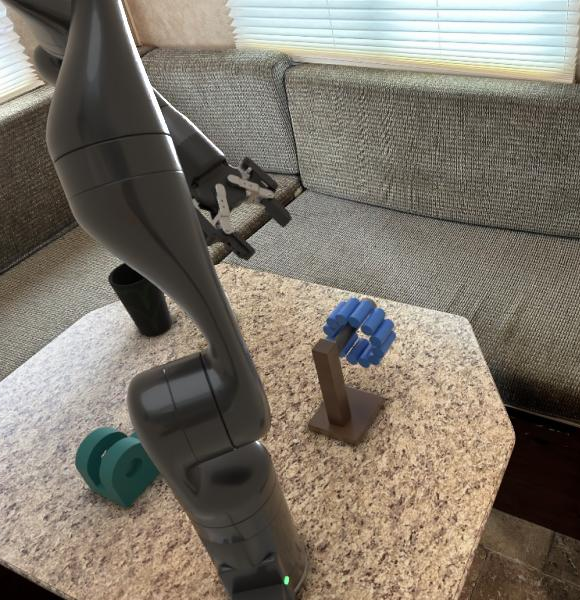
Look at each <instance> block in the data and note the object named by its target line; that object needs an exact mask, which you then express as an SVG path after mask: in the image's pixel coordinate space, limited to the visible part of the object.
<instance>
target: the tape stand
mask: <svg viewBox="0 0 580 600" xmlns="http://www.w3.org/2000/svg"><path fill="white" fill-rule="evenodd" d="M365 299H366V300H369V301H371V302H372V304H373V306H374V308H376V307H378V305H377V303H376V302H375V301H374V300H373V299H372V298H371V297H363V298H362V299H360V300H359V301H360V303H361V302H362V300H365ZM374 308H373V310H374ZM373 310H372V311H373ZM372 311H371V312H372ZM371 312H370V314H371ZM370 314H369V315H370ZM369 315H368V316H369ZM368 316H367V318H368ZM367 318H366V319H367ZM366 319H365V320H366ZM365 320H364V322H365ZM364 322H363V323H364ZM363 323H362V324H363ZM362 324H361V326H362ZM361 326H360V327H359V328H354V327H352V326H351V325H350V324H349V322H348V323H347V324H346V325H345V326H344V327H343V329H342V330H341V331H340V332H339V334H338V335H337V336H336V338H335V339H334V340H333V341H330V340H326V338H323V337H320V338H319V339H318V340H317V342H316V343H315V344H314V345H313V347H312V348H311V349H310V350H311V355H312V359H313V363H314V367H315V371H316V376H317V379H318V383H319V387H320V391H321V396H322V400H323V401H322V403H321V404H320V405H319V407H318V409H317V410H316V411H315V412H314V414H313V416H312V417H311V418H310V419H309V421H308V422H307V427H308V430H310V431H313V432H316V433H319V434H321V435H325V436H328V437H330V438H333V439H336V440H339V441H342V442H345V443H348V444H351V445H354V446H357V447H358V446H359V445H360V443H361V441H362V440H363V438H364V437H365V435H366V434H367V431H368V430H369V429H370V427H371V426H372V424H373V422H374V420H375V419H376V417H377V416H378V414H379V413H380V411H381V410H382V409H383V406H384V404H385V403H386V402H385V396H383V395H379V394H376V393H372V392H369V391H365V390H362V389H359V388H356V387H352V386H349V385H347V384H346V383H345V377H344V372H343V367H342V362H341V359H340V358H341V357H339V355H340V353H341V352H342V351H343V349H344V348H345V347H346V345H347V344H348V343H349V341H350V340H351V339H352V337H353V336H354V335H355V333H357V332H358V330H359V329H361Z"/></svg>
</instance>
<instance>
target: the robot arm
mask: <svg viewBox="0 0 580 600" xmlns="http://www.w3.org/2000/svg"><path fill="white" fill-rule="evenodd" d="M0 1H1V2H2V3H3V4H5V5H6V6H7V7H9V8H10V9H11V10H13V11H14V12H15V13H16V14H17V15H18V16H19V17H20V18H21V19H22V21H23V22H24V24H25V25H26V26H27V29H28V30H29V32H30V33H31V34H32V36H33V37H34V39H35V40H36V42H37V45H36V46H35V48H34V49H33V51H32V61H33V64H34V67H35V69H36V71H37V72H38V74H39V76H40V77H41V78H42V79H43V80H44V81H45V82H46V83H47V84H49V85H50V86H52V87H53V88H54V90H53V93H52V96H51V101H50V106H49V110H48V115H47V119H46V130H45V141H46V146H47V151H48V154H49V157H50V159H51V162H52V164H53V167H54V169H55V172H56V174H57V177H58V180H59V182H60V184H61V188H62V190H63V192H64V195H65V197H66V200H67V202H68V206H69V208H70V211H71V213H72V215H73V217H74V219H75V221H76V222H77V224H78V225H79V226H80V227H81V228H82V229H83V231H84V232H85V233H86V234H87V235H88V236H89V237H90V238H92V240H93V241H95V242H96V243H98V245H100V246H101V247H102V248H104V249H105V250H106V251H108V252H109V253H110V254H112V255H113V256H114V257H116V258H117V259H119V260H120V261H121V262H122V263H125V264H127V265H128V266H130V267H131V268H132V269H134V270H135V271H137V272H138V273H140V274H141V275H142V276H144V277H145V278H146V279H148V280H149V281H150V282H152V283H153V284H154V285H155V286H157V287H158V288H159V289H160V290H161V291H163V292H164V295H166V296H167V297H168V298H169V299H170V300H171V301H173V302H174V303H175V305H176V306H178V307H179V308H180V310H182V311H183V312H184V313H185V315H187V316H188V318H189V319H190V320H191V321H192V323H193V324H194V325H195V326H196V327H197V329H198V330H199V332H200V333H201V334H202V336H203V338H204V339H205V341H206V343H207V347H206V348H205V349H202V350H201V351H196V352H193V353H190V354H187V355H185V356H182V357H178V358H176V359H173V360H170V361H168V362H165V363H162V364H159V365H157V366H153V367H151V368H148V369H145V370H143V371H141V372H139V373H137V374H135V375H134V376H133V377H132V378H131V380H130V381H129V384H128V387H127V391H126V406H127V412H128V416H129V419H130V423H131V425H132V427H133V430H134V432H136V434H137V436H138V439H139V441H140V443H141V444H142V446H143V448H144V450H145V451H146V453H147V454H148V456H149V458H150V459H151V461H152V462H153V463H154V465H155V466H156V468H157V469H158V471H159V472H160V475H161V476H162V478H163V479H164V481H165V482H166V484H167V485H168V487H169V488H170V490H171V491H172V493H173V495H174V497H175V498H176V500H177V502H178V503H179V505H180V507H181V508H182V509H183V511H184V513H185V514H186V516H187V518H188V519H189V522H190V523H191V525H192V527H193V529H194V530H195V531H194V532H196V534H197V536H198V538H199V540H200V541H201V544H202V546H203V547H204V549H205V551H206V552H207V554H208V556H209V558H210V560H211V561H212V563H213V566H214V567H215V569H216V570H217V571H216V572H217V577H218V578H219V581H220V582H221V584H222V585H223V587H224V589H225V591H226V593H227V594H228V596H229V598H230V600H296V596H297V593H298V592H299V591H300V590H301V588H302V586H303V584H304V583H305V580H306V578H307V574H308V569H309V561H308V560H309V559H308V555H307V552H306V549H305V547H304V545H303V543H302V541H301V538H300V534H299V533H298V530H297V526H296V524H295V522H294V519H293V515H292V513H291V510H290V508H289V505H288V502H287V499H286V496H285V492H284V491H283V488H282V484H281V482H280V479H279V477H278V473H277V471H276V467H275V464H274V462H273V460H272V457H271V454H270V452H269V450H268V448H267V447H266V446H265V445H264V444H263V443H262V442H261V441H260V440H261V439H264V438H265V437H266V436H267V435H268V434H269V432H270V430H271V427H272V411H271V407H270V403H269V399H268V396H267V393H266V390H265V386H264V383H263V381H262V378H261V375H260V372H259V371H258V368H257V366H256V364H255V361H254V359H253V356H252V354H251V352H250V349H249V347H248V344H247V342H246V339H245V337H244V335H243V332H242V330H241V327H240V325H239V323H238V321H237V318H236V315H235V312H234V310H233V311H232V309H233V308H232V309H231V306H232V305H231V306H230V304H229V301H228V299H227V297H226V294H227V293H226V292H225V289H224V287H223V285H222V282H221V279H220V277H219V275H218V272H217V270H216V267H215V263H214V261H213V259H212V256H211V252H210V250H209V247H212V246H213V245H215V244H219V243H221V244H224V245H225V246H226V247H227V248H228V249H229V250H230V251H231V252H232V253H233V254H235V255H236V257H237V258H239V259H241V260H244V261H249V260H250V259H251V258H253V256H254V255H255V253H256V249H255V248H254V247H253V246H252V245H251V244H250V243H249V242H248V241H247V240H246V239H245V238H244V237H242V235H241V234H239V233H238V231H236V230H234V231H233V227H232V223H231V219H230V217H231V214H232V212H234V211H233V210H235V209H237V208H240V206H242V205H243V204H245V205H255V206H259V207H263V208H264V209H263V211H265V212H266V213H267V215H269V216H270V217H271V218H272V219H273V220H274V221H275V222H276V223H277V224H278V225H279V226H280V227H282V228H285V227H287V225H288V224H289V223H290V222H292V219H293V218H292V216H291V213H290V211H289V210H288V209H287V208H285V206H284V205H283V204H282V203H280V202H279V201H278V199H277V198H276V197H275V194H276V192H277V190H278V188H279V183H277V182H276V180H275V179H273V178H272V177H271V176H270V175H269V174H268V173H267V172H265V171H264V170H263V169H262V168H261V167H260V166H259V165H258V164H257V163H256V162H255V161H254V160H252V159H251V158H250V157H248V156H244V157H243V159H242V160H241V162H240V163H239V164H238V165H237V166H236V167H234V166H233V165H231V164H230V163H228V161H227V159H226V156H225V154H224V152H222V150H220V148H218V147H217V146H216V145H215V144H214V143H213V142H212V141H211V140H210V139H209V137H207V136H206V135H205V134H204V133H203V132H202V131H201V130H200V129H199V128H198V127H197V126H196V125H195V123H193V122H192V121H191V120H190V119H188V117H187V116H185V115H184V114H182V113H181V112H180V111H179V110H177V109H176V108H175V107H174V106H173V105H172V104H171V103H170V102H169V101H167V99H166V98H164V97H163V95H161V93H160V92H159V91H158V90H156V88H154V86H152V85H151V83H150V80H149V78H148V75H147V72H146V70H145V68H144V64H143V62H142V60H141V57H140V54H139V52H138V48H137V47H136V43H135V40H134V38H133V35H132V32H131V29H130V26H129V22H128V19H127V16H126V13H125V9H124V6H123V3H122V0H0ZM201 210H202V211H206V212H207V213H208V217H209V219H207V218H206V217H205V215H204V214H203V213H201V212H202V211H201ZM225 293H226V294H225ZM233 312H234V313H233ZM234 315H235V316H234Z"/></svg>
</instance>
